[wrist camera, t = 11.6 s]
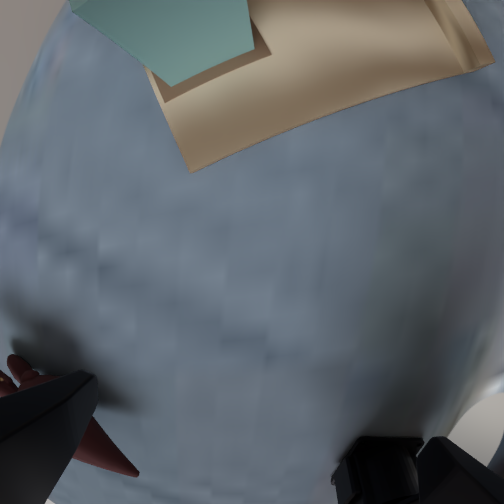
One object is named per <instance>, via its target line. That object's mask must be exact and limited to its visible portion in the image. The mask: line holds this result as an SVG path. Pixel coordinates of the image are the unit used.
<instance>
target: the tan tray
mask: <svg viewBox="0 0 504 504" xmlns="http://www.w3.org/2000/svg"><path fill="white" fill-rule="evenodd" d="M247 5H248V11H249V17H250V23H251V29H252V36H253V42H254V50H251V51H249V52H246V53H244V54H241V55H239V56H236V57H234V58H232V59H229V60H227V61H225V62H222V63H220V64H218V65H216V66H213V67H211V68H209V69H207V70H205V71H203V72H200V73H198V74H196V75H194V76H192V77H190V78H188V79H186V80H184V81H182V82H180V83H178V84H176V85H174V86H172V87H171V86H169V85H168V84H167V83H166V82H165V81H163V80H162V79H161V78H160V77H158V76H157V75H156V74H155V73H153V72H152V71H151V70H150V69H148V68H147V67H146V66H145V65H143V66H144V68H145V71H146V73H147V76H148V78H149V80H150V83H151V85H152V87H153V90H154V92H155V94H156V97H157V99H158V101H159V104H160V106H161V108H162V111H163V113H164V115H165V117H166V120H167V122H168V124H169V127H170V129H171V131H172V133H173V136H174V138H175V140H176V143H177V145H178V147H179V149H180V152H181V154H182V156H183V158H184V161H185V163H186V165H187V167H188V170H189V172H190V173H194V172H196V171H198V170H200V169H202V168H204V167H206V166H208V165H210V164H213V163H215V162H217V161H219V160H221V159H223V158H225V157H228V156H230V155H232V154H234V153H236V152H239V151H241V150H243V149H245V148H248V147H250V146H252V145H255V144H257V143H259V142H262V141H264V140H266V139H269V138H271V137H273V136H276V135H278V134H281V133H283V132H286V131H288V130H291V129H293V128H296V127H298V126H301V125H303V124H306V123H308V122H311V121H314V120H316V119H319V118H321V117H324V116H327V115H330V114H332V113H335V112H338V111H341V110H343V109H346V108H349V107H352V106H355V105H358V104H361V103H364V102H367V101H370V100H373V99H376V98H379V97H382V96H385V95H388V94H392V93H395V92H398V91H401V90H405V89H408V88H412V87H415V86H419V85H422V84H426V83H429V82H433V81H437V80H441V79H444V78H448V77H452V76H456V75H461V74H465V73H469V72H474V71H476V70H479V69H481V68H483V67H486V66H488V65H490V64H492V63H495V60H494V58H493V56H492V54H491V52H490V50H489V48H488V46H487V44H486V42H485V40H484V38H483V36H482V34H481V32H480V31H479V29H478V27H477V25H476V23H475V22H474V20H473V18H472V17H471V15H470V13H469V12H468V10H467V8H466V7H465V5H464V3H463V2H462V0H247Z"/></svg>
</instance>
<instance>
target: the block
mask: <svg viewBox="0 0 504 504" xmlns="http://www.w3.org/2000/svg"><path fill="white" fill-rule="evenodd" d="M69 2H70V5H71V9H72V12H73V13H75V14H76V15H78V16H79V17H80V18H82V19H83V20H85V21H86V22H87V23H89V24H90V25H92V26H93V27H94V28H96V29H97V30H99V31H100V32H101V33H103V34H104V35H105V36H107V37H108V38H109V39H111V40H112V41H113V42H115V43H116V44H117V45H119V46H120V47H121V48H123V49H124V50H125V51H127V52H128V53H129V54H131V55H132V56H133V57H134V58H136V59H137V60H138V61H140V62H141V63H142V64H143V65H145V66H146V67H147V68H148V69H150V70H151V71H152V72H153V73H155V74H156V75H157V76H158V77H160V78H161V79H162V80H163V81H165V82H166V83H167V84H168V85H169V86H171V87H172V86H174V85H176V84H178V83H180V82H182V81H184V80H186V79H188V78H190V77H192V76H194V75H196V74H198V73H200V72H203V71H205V70H207V69H209V68H211V67H213V66H216V65H218V64H220V63H222V62H225V61H227V60H229V59H232V58H234V57H236V56H239V55H241V54H244V53H246V52H249V51H251V50H254V42H253V36H252V29H251V23H250V17H249V11H248V5H247V0H69Z"/></svg>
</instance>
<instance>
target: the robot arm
mask: <svg viewBox="0 0 504 504" xmlns="http://www.w3.org/2000/svg"><path fill="white" fill-rule="evenodd" d="M97 403H98V387H97V377H96V375H94V374H93V373H90V372H88V371H85V370H78V371H75V372H72V373H70V374H67V375H64V376H61V377H58V378H56V379H53V380H50V381H47V382H44V383H41V384H39V385H36V386H33V387H30V388H27V389H24V390H21V391H18V392H15V393H12V394H9V395H6V396H3V397H0V504H45V502H46V500H47V499H48V497H49V495H50V494H51V492H52V490H53V489H54V487H55V485H56V483H57V482H58V480H59V478H60V477H61V475H62V473H63V472H64V470H65V468H66V467H67V465H68V464H69V462H70V460H71V459H72V457H73V455H74V453H75V452H76V450H77V448H78V446H79V444H80V441H81V439H82V437H83V435H84V432H85V430H86V428H87V426H88V424H89V421H90V419H91V417H92V415H93V413H94V411H95V409H96V406H97ZM362 442H363V443H362ZM423 445H424V440H423V439H422V438H386V437H360V438H359V439H358V440H357V441H356V443H355V444H354V446H353V447H352V449H351V451H350V452H349V454H348V455H347V456H346V457H345V458H344V460H343V461H342V463H341V464H340V466H339V467H338V469H337V470H336V471H335V473H334V476H333V477H332V479H331V484H332V485H335V486H336V492H337V499H338V504H504V479H502V478H501V477H499V476H498V475H497V474H495V473H494V472H493V471H491V470H490V469H488V468H487V467H486V466H484V465H483V464H482V463H480V462H479V461H477V460H476V459H475V458H473V457H472V456H471V455H469V454H468V453H467V452H465V451H464V450H462V449H461V448H460V447H458V446H457V445H456V444H454V443H453V442H452V441H450V440H449V439H448V438H446V437H444V436H438V437H432V438H431V439H430V440H429V441H428V443H427V444H426V445H425V447H424V448H423V450H422V451H421V452H420V453H419V455H418V457H416V454H417V453H418V452H419V450H420V449H421V448H422V446H423Z"/></svg>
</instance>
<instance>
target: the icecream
mask: <svg viewBox="0 0 504 504" xmlns="http://www.w3.org/2000/svg"><path fill="white" fill-rule="evenodd" d="M7 366H8V368H9V369H10V371H11V373H12V375H13V376H14V378H15V379H16V380H17V381H18V382H19V383H20V384H21V385H20V386H19V388H18V387H17V386H16V385H15V384H14V383H13V380H12V379H11V378H10V377H9V376H7V375H6V374H5V373H3V372H2V371H1V370H0V397H3V396H6V395H9V394H12V393H15V392H18V391H21V390H24V389H27V388H30V387H33V386H36V385H39V384H41V383H44V382H47V381H50V380H53V379H56V378H58V377H60V376H53V375H39V372H37V371H35V370H33V369H32V368H31V367H30V365H29V364H28V363H27V362H25V361H24V360H23V359H22V358H21V357H19V356H17V355H15V354H11V355H9V356H8V358H7ZM72 458H74V459H77V460H79V461H82V462H85V463H88V464H91V465H94V466H97V467H100V468H103V469H107V470H110V471H113V472H117V473H120V474H124V475H127V476H132V477H136V478H137V477H138V476H139V473H140V472H139V471H138V470H137V469H136V467H135V466H134V465H133V464H132V463H131V462H130V461H129V460H128V459H127V458H126V457H125V455H124V454H123V453H122V452H121V451H120V450H119V449H118V447H117V446H116V445H115V444H114V443H113V441H112V440H111V439H110V438H109V436H108V435H107V434H106V433H105V431H104V430H103V429H102V428H101V426H100V425H99V424H98V422H97V421H96V420H95V418H94V417H93V416H92V417H91V419H90V421H89V424H88V426H87V428H86V430H85V432H84V435H83V437H82V439H81V441H80V444H79V446H78V448H77V450H76V452H75V453H74V455H73V457H72Z"/></svg>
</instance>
